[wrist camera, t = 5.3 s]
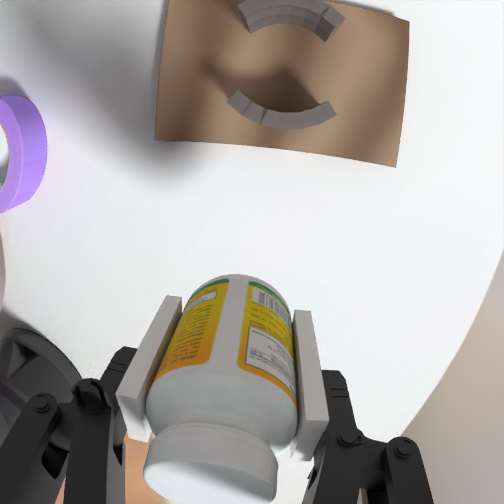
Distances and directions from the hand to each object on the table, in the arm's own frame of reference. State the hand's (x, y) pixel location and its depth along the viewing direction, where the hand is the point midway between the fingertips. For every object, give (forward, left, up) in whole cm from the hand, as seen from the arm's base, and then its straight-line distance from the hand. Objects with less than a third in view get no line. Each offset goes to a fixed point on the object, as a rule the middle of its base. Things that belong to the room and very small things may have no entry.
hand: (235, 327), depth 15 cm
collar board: (+8, +11, -12) cm, 18 cm away
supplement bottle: (0, 0, -1) cm, 1 cm away
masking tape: (-18, +20, -12) cm, 29 cm away
